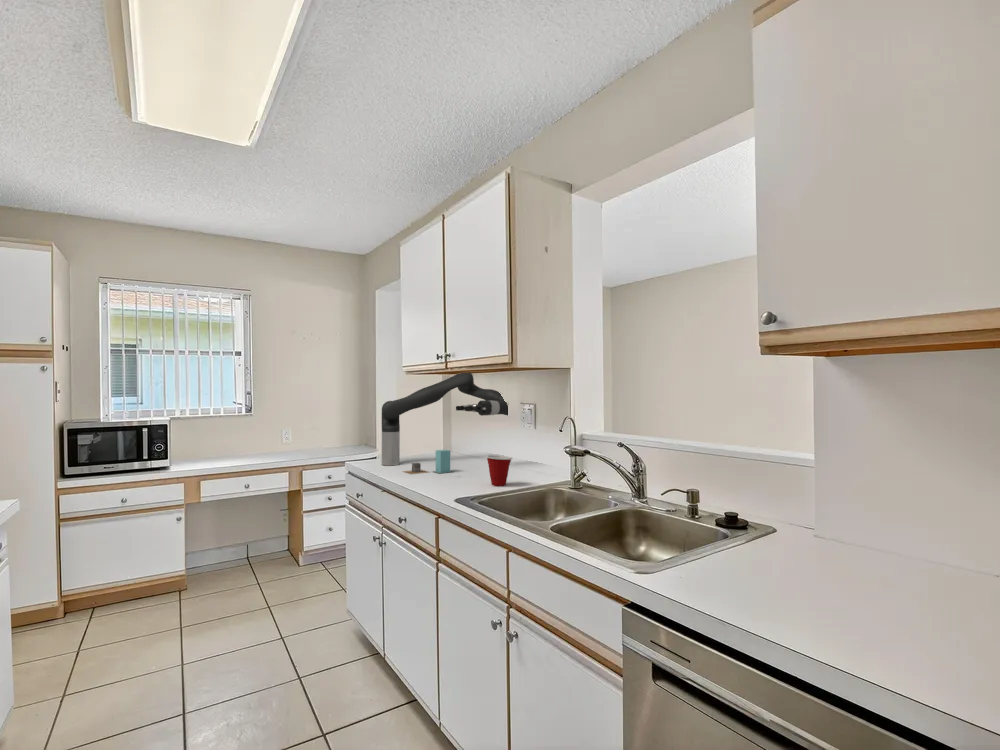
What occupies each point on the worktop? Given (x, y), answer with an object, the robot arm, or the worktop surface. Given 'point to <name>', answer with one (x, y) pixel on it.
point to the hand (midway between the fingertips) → (460, 408)
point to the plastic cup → (498, 469)
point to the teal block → (442, 461)
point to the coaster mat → (442, 473)
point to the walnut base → (416, 469)
